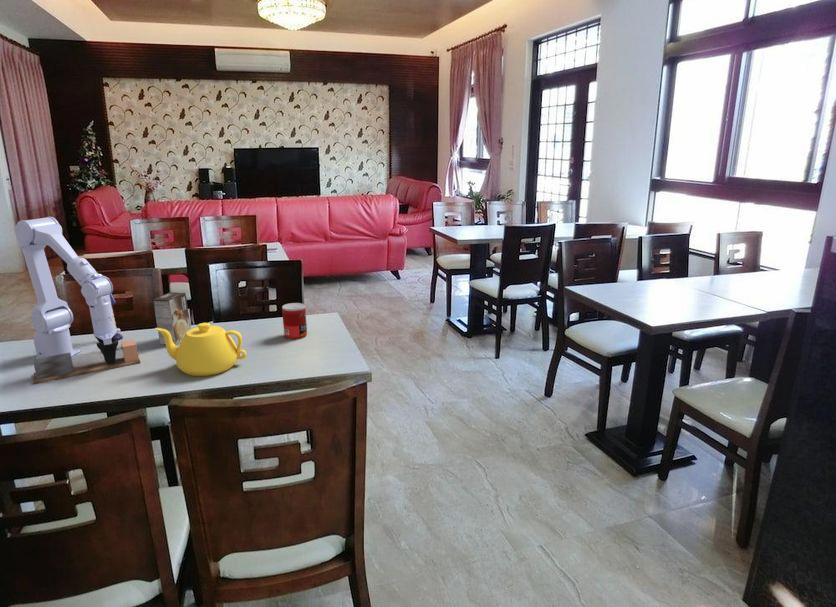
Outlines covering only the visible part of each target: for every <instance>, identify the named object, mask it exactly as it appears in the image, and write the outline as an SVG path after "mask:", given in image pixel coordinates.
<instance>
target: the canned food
mask: <svg viewBox="0 0 836 607" xmlns="http://www.w3.org/2000/svg"><path fill="white" fill-rule="evenodd" d="M306 311H307V310H306V305H305V303H301V302H291V303H286V304H283V305H282V306H281V312H282V322H283V323H282V325H283V326H282V327H283V335H284V337H285V338H286V339H288V338H289V339H288V340H299V339H300V338H301V339H304V338H306V337H307V336H308V328H307V312H306ZM305 336H306V337H305ZM303 337H304V338H303Z"/></svg>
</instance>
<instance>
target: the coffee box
mask: <svg viewBox="0 0 836 607" xmlns="http://www.w3.org/2000/svg"><path fill="white" fill-rule="evenodd" d="M152 302H153V308H154V314H155V321H156V328H162V329H165V330H167V331H168V332H169V333H170V334H171V337H172V341H173V343H174V344H175V345H176V346H178V345H180V343H181V341H182V339H183V337H184V335H185V334H186V332H187V331H189V330H190V329H192V327H191V322H190V321H191V320H190V315H189V308H188V302H187V295H186V292H171V291H170V292H167V293H165V294H163V295H160V296H157V297H156V298H153V299H152ZM157 332H158V340H159V344H160V345H164V344H165V339H164V336H163V335H162V334H161V332H159V331H158V330H157ZM177 344H178V345H177Z"/></svg>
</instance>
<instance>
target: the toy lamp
mask: <svg viewBox="0 0 836 607" xmlns="http://www.w3.org/2000/svg"><path fill="white" fill-rule="evenodd" d="M109 295H110V300H111V306H112V307H113V306H114V305H116V304H117V302H116V300H115V298H114V297H115V296H114V295H113V293H111V294H109ZM112 312H113V317H114V316H115V314H114V309H113V308H112ZM115 319H116V318H115V317H114V323H115V329H116V328H117V326H116V325H117V323H116V320H115ZM123 338H124V337H123V335H122V334H121V333H120V332H117V333H116V334H115V337H114V340H117V341H120V340H119V339H121V340H123Z"/></svg>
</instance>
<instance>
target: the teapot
mask: <svg viewBox="0 0 836 607" xmlns="http://www.w3.org/2000/svg"><path fill="white" fill-rule="evenodd" d="M154 329H155V330H157V332H158V331H159V332H161V334H162V335H163V336H164V339H165V344H166V345H165V347H166V352H167V354H168V355H169V357H171V358H172V359H173V360H175V361H176V367H177V368H178V369H179V370H180V371H181V372H182V373H184V374H186V375H188V376H192V377H209V376H213V375H214V376H215V375H218V374H221V373H224V372H226V371H228V369H229V370H230V369H231V368H232V367H233V366H234V365H235V364H236V363H237V361H238V360H245V358H246V357H247V355H248V354H247V351H246V350H245V349H242V345H243V344H242V343H243V336H242V334H241V332H240V331H237V330H234V329H232V330H230V329H229V330H225V329H224V328H223V327H221V326H219V325H211V323H209V322H202V323H198V324H197V326H196V327H194V328H191V329H190V330H189V331H187V332H186V334H185V335H184V337H183V339H182V341H181V343H179V344H178V345H175V344H174V343H173V341H172V337H171V334H170V333H169V332H168V331H167V330H165V329H162V328H157V327H155V328H154ZM231 335H234V336H236V338H237V343H235V341H234V339H233V338H232V336H231ZM241 353H242V354H243V355H241Z"/></svg>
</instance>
